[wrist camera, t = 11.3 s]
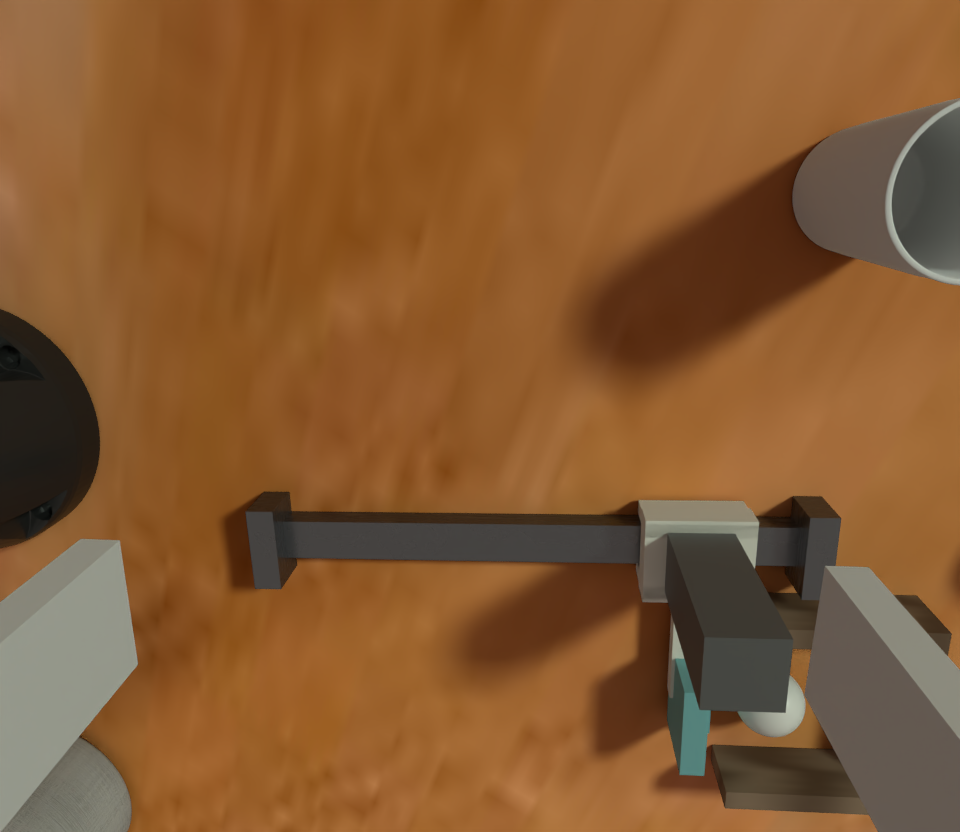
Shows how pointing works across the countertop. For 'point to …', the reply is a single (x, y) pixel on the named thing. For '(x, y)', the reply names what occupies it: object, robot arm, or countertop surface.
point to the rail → (512, 538)
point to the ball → (778, 715)
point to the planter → (77, 796)
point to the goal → (800, 771)
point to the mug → (888, 192)
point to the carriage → (712, 617)
